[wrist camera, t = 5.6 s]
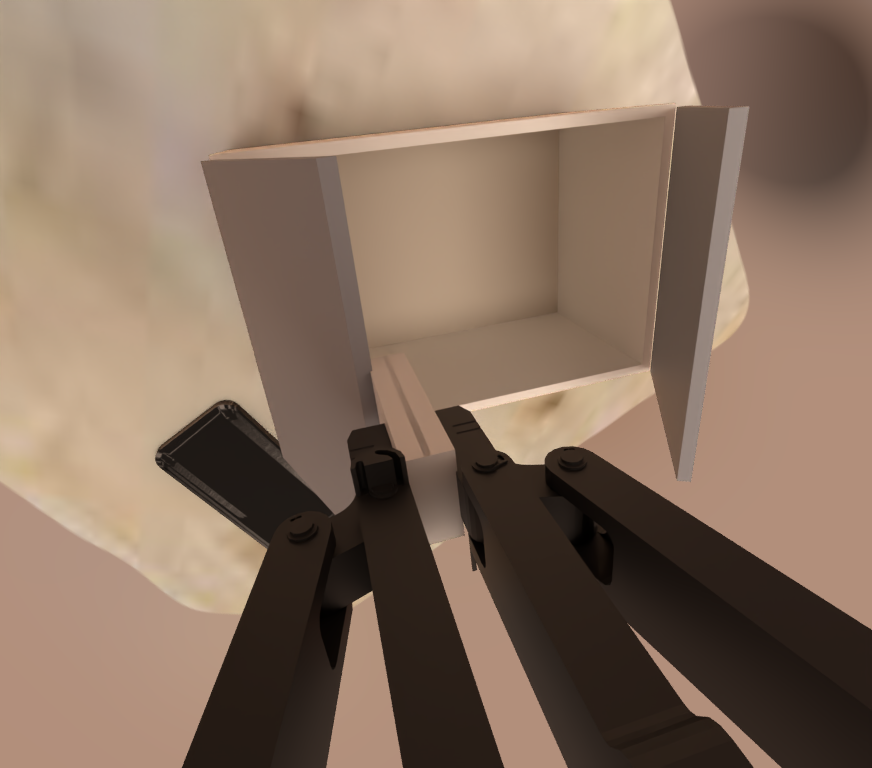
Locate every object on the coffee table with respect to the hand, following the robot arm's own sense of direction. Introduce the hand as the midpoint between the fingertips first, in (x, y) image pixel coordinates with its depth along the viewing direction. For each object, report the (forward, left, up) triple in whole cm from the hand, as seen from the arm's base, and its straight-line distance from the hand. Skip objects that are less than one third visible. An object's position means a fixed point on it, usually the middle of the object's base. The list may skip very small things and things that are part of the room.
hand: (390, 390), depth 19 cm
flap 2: (0, +16, -5) cm, 16 cm away
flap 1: (0, -3, -5) cm, 5 cm away
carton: (0, +7, -23) cm, 24 cm away
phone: (+18, -10, -23) cm, 31 cm away
